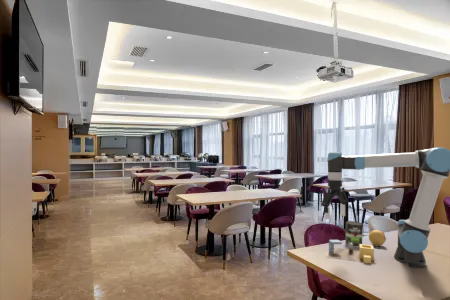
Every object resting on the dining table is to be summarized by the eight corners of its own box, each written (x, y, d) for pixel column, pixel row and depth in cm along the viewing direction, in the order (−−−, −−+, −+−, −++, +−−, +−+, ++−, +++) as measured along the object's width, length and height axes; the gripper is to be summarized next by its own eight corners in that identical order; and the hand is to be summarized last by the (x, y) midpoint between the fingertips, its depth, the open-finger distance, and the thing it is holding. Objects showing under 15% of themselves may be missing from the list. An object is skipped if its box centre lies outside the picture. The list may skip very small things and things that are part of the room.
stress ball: (373, 249, 196) (387, 241, 192) (363, 235, 201) (376, 227, 197) (377, 247, 203) (390, 240, 199) (367, 234, 208) (380, 226, 204)
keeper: (338, 250, 184) (338, 239, 184) (341, 253, 180) (341, 242, 180) (328, 250, 184) (328, 239, 184) (331, 253, 179) (331, 242, 179)
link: (374, 263, 163) (374, 252, 163) (360, 261, 166) (360, 250, 166) (372, 256, 175) (372, 245, 175) (359, 254, 178) (359, 243, 178)
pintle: (353, 251, 183) (353, 242, 183) (353, 252, 181) (353, 244, 181) (348, 250, 184) (348, 242, 184) (348, 252, 182) (348, 243, 182)
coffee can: (363, 247, 195) (364, 225, 195) (346, 246, 197) (346, 224, 197) (360, 243, 205) (361, 221, 205) (344, 241, 207) (344, 220, 207)
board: (372, 254, 182) (372, 252, 182) (375, 266, 163) (375, 264, 163) (329, 249, 191) (329, 247, 191) (327, 260, 172) (327, 257, 172)
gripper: (343, 178, 185) (343, 213, 185) (314, 180, 171) (315, 218, 171) (354, 178, 179) (354, 215, 178) (325, 181, 165) (326, 221, 165)
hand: (335, 217), depth 175 cm, fingers open, 13 cm apart
